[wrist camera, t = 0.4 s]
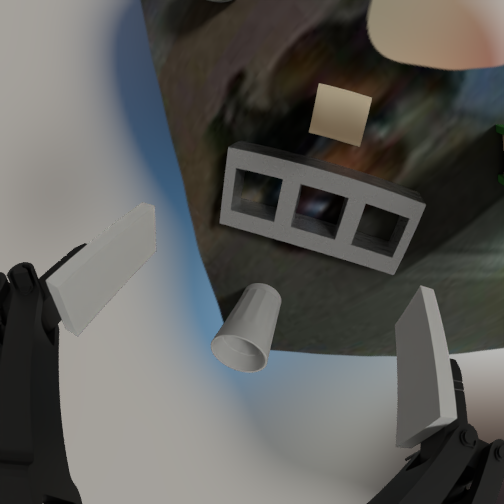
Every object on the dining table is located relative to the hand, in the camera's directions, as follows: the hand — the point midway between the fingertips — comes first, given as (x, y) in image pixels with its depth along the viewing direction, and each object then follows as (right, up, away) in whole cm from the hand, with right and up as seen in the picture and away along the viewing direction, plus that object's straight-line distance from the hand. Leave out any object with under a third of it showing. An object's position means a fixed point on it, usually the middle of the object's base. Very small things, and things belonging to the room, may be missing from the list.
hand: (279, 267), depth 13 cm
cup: (0, -7, +34) cm, 35 cm away
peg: (+9, +17, +15) cm, 25 cm away
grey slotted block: (+7, +7, +22) cm, 25 cm away
